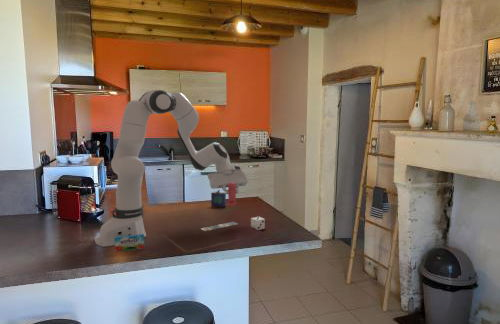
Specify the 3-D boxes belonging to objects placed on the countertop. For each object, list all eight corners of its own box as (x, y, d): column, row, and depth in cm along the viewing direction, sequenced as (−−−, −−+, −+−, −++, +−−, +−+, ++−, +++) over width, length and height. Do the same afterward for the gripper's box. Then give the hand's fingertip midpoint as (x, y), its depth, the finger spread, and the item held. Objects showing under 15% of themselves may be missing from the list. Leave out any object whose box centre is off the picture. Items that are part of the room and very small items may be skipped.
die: (256, 230, 176) (256, 220, 175) (250, 227, 180) (250, 217, 179) (264, 228, 179) (264, 218, 178) (258, 225, 183) (258, 216, 182)
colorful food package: (114, 252, 148) (114, 237, 147) (115, 250, 149) (114, 236, 148) (144, 248, 152) (144, 235, 151) (144, 247, 153) (144, 233, 152)
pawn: (230, 205, 179) (230, 183, 177) (225, 203, 183) (225, 182, 181) (238, 204, 181) (238, 182, 180) (233, 202, 185) (233, 181, 184)
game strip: (206, 235, 168) (206, 233, 168) (194, 228, 178) (194, 227, 178) (244, 227, 181) (244, 225, 181) (231, 221, 190) (231, 219, 190)
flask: (226, 206, 222) (226, 189, 221) (225, 207, 219) (225, 190, 218) (211, 205, 223) (211, 189, 221) (210, 207, 220) (210, 190, 218)
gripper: (208, 169, 181) (214, 191, 174) (244, 166, 190) (252, 188, 183) (205, 176, 186) (211, 198, 179) (240, 173, 195) (248, 194, 187)
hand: (232, 193), depth 181 cm, fingers closed on pawn, 4 cm apart
